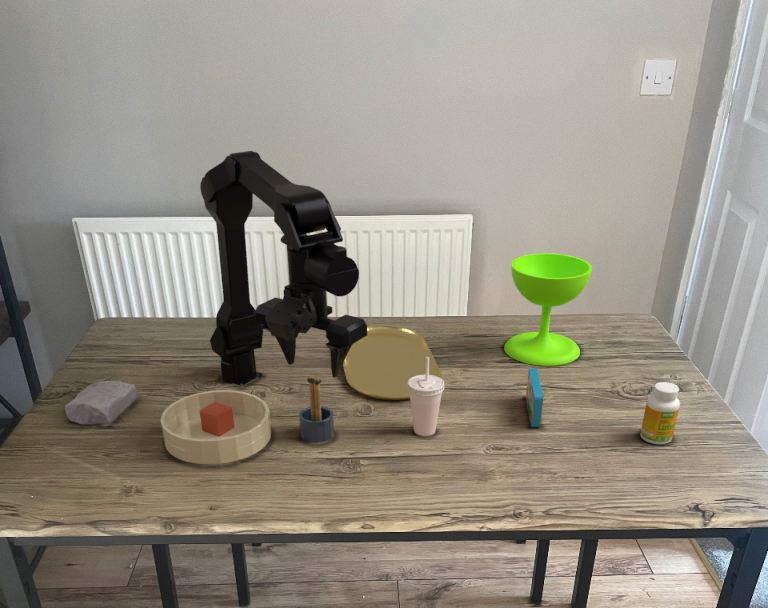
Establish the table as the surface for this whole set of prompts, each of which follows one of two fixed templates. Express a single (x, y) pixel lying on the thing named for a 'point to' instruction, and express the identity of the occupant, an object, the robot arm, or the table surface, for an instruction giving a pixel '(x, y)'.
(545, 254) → the wineglass
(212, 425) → the block
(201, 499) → the table surface
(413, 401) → the smoothie
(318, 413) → the chopsticks
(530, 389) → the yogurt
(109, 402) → the stone block
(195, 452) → the bowl
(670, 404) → the supplement bottle
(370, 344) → the serving platter
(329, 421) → the holder
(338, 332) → the robot arm
